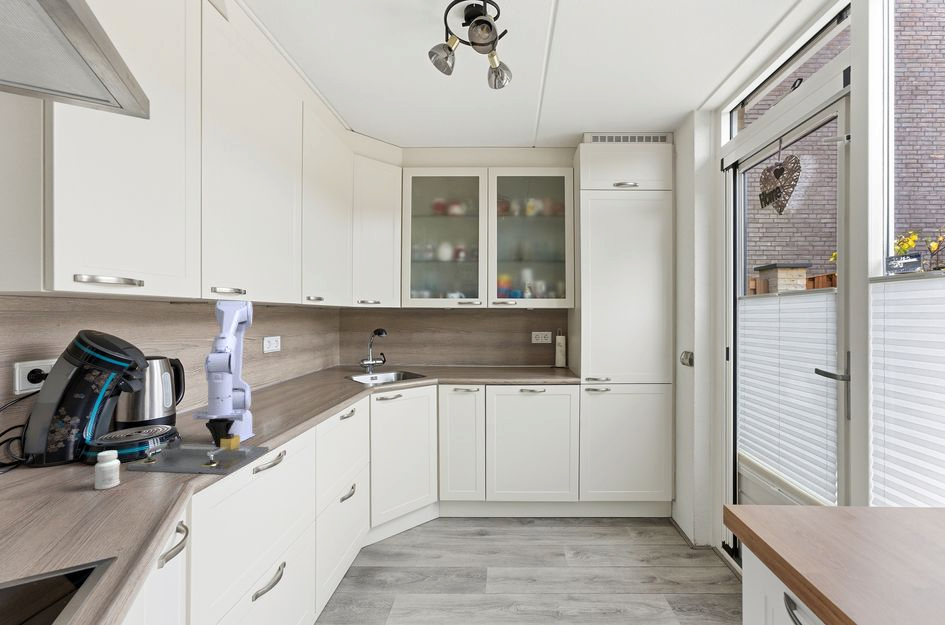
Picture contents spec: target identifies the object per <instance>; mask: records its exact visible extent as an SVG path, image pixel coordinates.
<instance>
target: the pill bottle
mask: <svg viewBox="0 0 945 625" xmlns="http://www.w3.org/2000/svg"><path fill="white" fill-rule="evenodd" d="M96 460H97V463H96V464H95V465H94V488H95V490H106V489H107V490H108V489H111V488H114V487H117V486H118V485H120V483H121V461H120V460H119V459H118V450H105V451H102V452H99V453H98V454H97V459H96Z"/></svg>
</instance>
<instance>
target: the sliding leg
mask: <svg viewBox="0 0 945 625" xmlns="http://www.w3.org/2000/svg"><path fill="white" fill-rule="evenodd" d="M239 446H241V442H240V435H234V433H230V434H227V436H226V437H224V438H222V439H221V447H219V448H216V449H214V450H212V451H210V452H208V453H207V456H210V463H212V462H213V455H214V454H216V453H218V452H220V451H222V450H233V449H235V448H237V447H239Z"/></svg>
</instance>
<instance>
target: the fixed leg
mask: <svg viewBox="0 0 945 625" xmlns="http://www.w3.org/2000/svg"><path fill="white" fill-rule="evenodd" d="M181 444H182V442H181V438H176V437H169V438H168V440H165V441H163V442H162V444H158V445H156V446H154V447H150V448H148V449H145V450H144V451H145V452H144V454H146V455H147V458H148V460H151V459H152V456H153V455H152V454H153V452H156V451H158V450H161V449H162V448H163V449H173V448H175V447H178V446H180V445H181Z"/></svg>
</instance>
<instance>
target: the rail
mask: <svg viewBox="0 0 945 625" xmlns="http://www.w3.org/2000/svg"><path fill="white" fill-rule="evenodd" d="M216 448H217V447H189V446H178V447H175V448H173V449H163V448H162V449H160V453H168V454H195V455H207V453H208V452H210V451H212V450H214V449H216ZM249 454H250V449H246V448H235V449H233V450H222V451H220V452H218V453H216V454H214V455H221V456H247V455H249Z"/></svg>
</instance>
